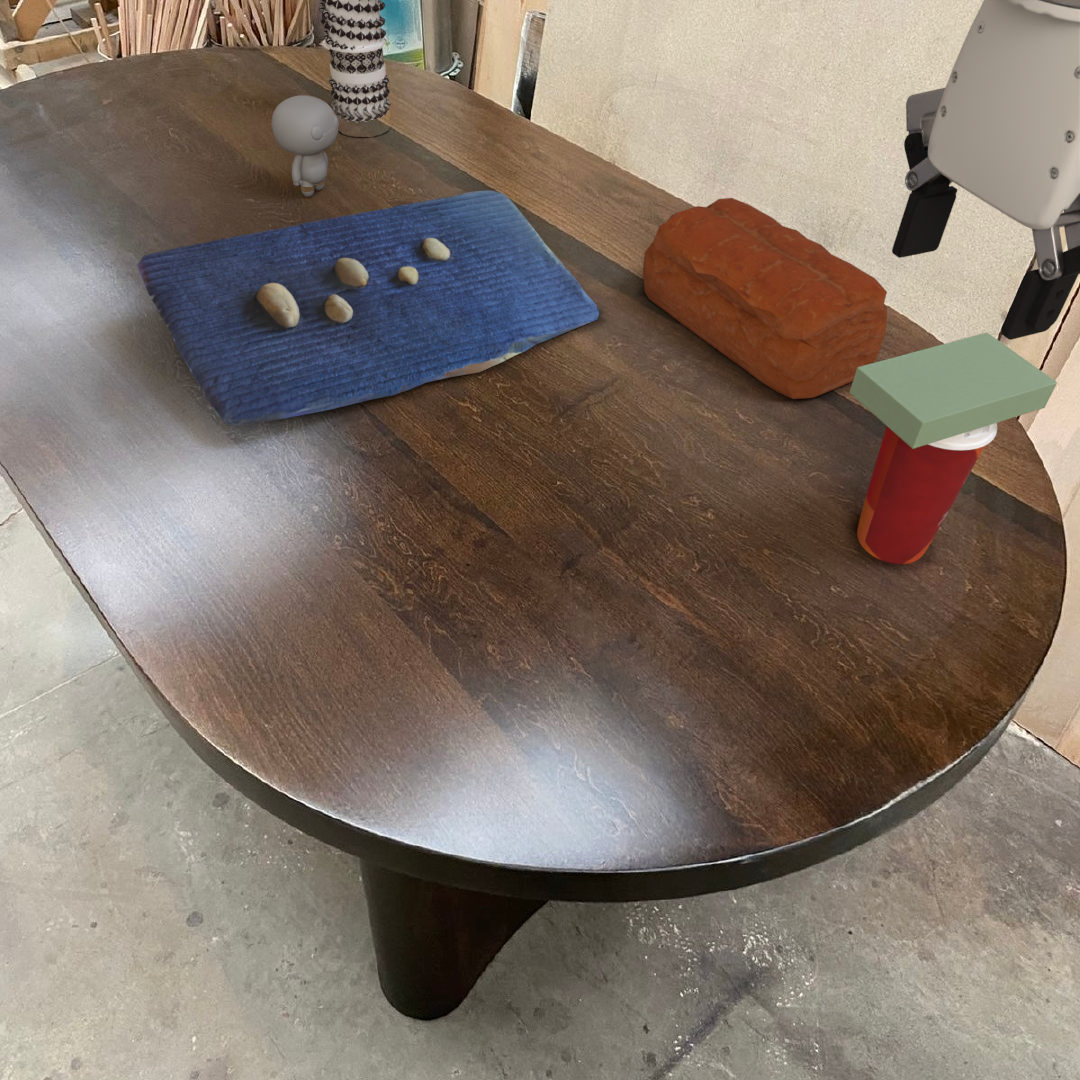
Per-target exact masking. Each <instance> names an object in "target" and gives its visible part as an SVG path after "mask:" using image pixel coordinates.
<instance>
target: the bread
mask: <svg viewBox="0 0 1080 1080" xmlns="http://www.w3.org/2000/svg"><path fill="white" fill-rule="evenodd" d="M643 255H644V256H643V264H642V265H643V266H642V275H643V276H642V277H643V287H644V293H645V294H646V297H647V298H648V300H649V301H651V302H652V303H653V304H655V305H657V306H658V307H659V308H660V309H662V310H663V311H664V312H665V313H668V314H669V315H670V316H671V317H672V318H673V319H675V320H676V321H678V322H679V323H680V324H682V325H683V326H684V327H686V328H687V329H688V330H689V331H691V332H692V333H693V334H695V335H697V336H698V337H699V338H701V339H702V340H703V341H705V342H706V343H707V344H708V345H710V346H712V347H713V348H715V349H716V350H717V351H719V352H720V353H721V354H723V355H724V356H725V357H727V358H728V359H729V360H731V362H734V363H735V364H737V365H738V366H739V367H740V368H742V369H743V370H745V371H746V372H747V373H748V374H750V375H751V376H753V377H754V378H755V379H757V380H758V381H759V382H760V383H762V384H764V385H765V386H767V387H769V388H770V389H771V390H773V391H775V392H776V393H779V394H781V395H782V396H783V395H784V396H785V397H787V398H789V399H792V400H799V399H811V398H813V399H814V398H816V397H818V396H821V395H823V394H826V393H828V392H831V391H833V390H836V389H837V388H840V387H843V386H845V385H848V384H851V383H853V380H854V376H855V373H856V370H857V368H858V367H860V366H864V365H868V364H872V363H875V362H876V359H877V357H878V355H879V353H880V351H881V350H882V349H881V348H882V347H883V343H884V339H885V335H886V332H887V331H886V330H887V324H888V307H887V306H886V304H885V302H886V298H887V294H888V292H887V290H886V289H885V288H884V287H883V286H882V284H881V283H880V282H879V281H878V280H877V279H876V277H873V276H872V275H871V274H868V273H867V272H865V271H863V270H862V269H860V268H859V267H857V266H855V265H854V264H852V263H851V262H849V261H847V260H844V259H842V258H841V257H838V256H836V255H834V254H832V253H831V252H829V250H828V249H827V248H825V247H824V246H823V245H822V244H821V243H818V242H816V241H814V240H812V239H809V238H807V237H806V236H805V235H804V234H802V233H801V232H800V231H799V230H797V229H795V228H791V227H788V226H784V225H783V224H781V223H780V222H779V221H778V220H777V219H775V218H774V217H772V216H770V215H768V214H766V213H765V212H763V211H761V210H760V209H757V208H756V207H755V206H752V205H751V204H749V203H746V202H744V201H741V200H739V199H735V198H733V197H725V198H718V199H717V200H715V201H713V202H712V203H710V204H709V205H707V206H699V205H697V206H694V207H691V208H688V209H684V210H681V211H677V212H676V213H673V214H671V215H670V216H669V218H668V219H667V220H666V221H665V222H663V223H662V224H659V226H658V228H657V231H656V233H655V235H654V238H653V240H652V242H651V243H650V245H649V246H648V247H647V248H646V250H645V251H644V254H643Z"/></svg>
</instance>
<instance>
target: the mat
mask: <svg viewBox="0 0 1080 1080" xmlns="http://www.w3.org/2000/svg"><path fill="white" fill-rule="evenodd" d="M137 269H138V271H139V275H140V276H141V280H142V282H143V284H144V288H145V290H146V292H147V294H148V296H149V298H150V299H151V301H152V302H153V304H154V306H155V308H156V309H157V311H158V313H159V315H160V316H161V318H162V320H163V322H164V323H165V325H166V328H167V329H168V331H169V333H170V335H171V338H172V339H173V341H174V344H175V345H176V348H177V349H178V352H179V354H180V355H181V357H182V359H183V361H184V363H185V364H186V366H187V367H188V369H189V371H190V372H191V374H192V376H193V378H194V379H195V381H196V382H197V384H198V386H199V388H200V389H201V391H202V393H203V394H204V396H205V397H206V398H205V399H207V401H208V403H209V404H210V406H211V409H213V411H214V413H215V415H216V416H217V417H218V418H219V419H220V420H221V421H222V422H223V423H224V424H225V425H232V426H245V425H250V424H251V425H252V424H258V423H263V422H270V421H276V420H283V419H287V418H288V419H289V418H293V417H299V416H303V415H304V416H305V415H309V414H314V413H315V414H316V413H319V412H324V411H330V410H335V409H339V408H343V407H347V406H350V405H355V404H359V403H363V402H367V401H371V400H377V399H382V398H385V397H391V396H396V395H398V394H401V393H404V392H407V391H410V390H412V389H414V388H417V387H420V386H421V385H424V384H427V383H431V382H435V381H439V380H444V379H448V378H452V377H453V378H454V377H460V376H466V375H467V376H468V375H473V374H478V373H481V372H484V371H486V370H487V369H490V368H493V367H494V366H496V365H499V364H501V363H503V362H506V361H507V360H509V359H511V358H514V357H515V356H517V355H519V354H522V353H525V352H526V351H528V350H529V349H532V348H533V347H534V346H537V345H538V344H541V343H543V342H546V341H549V340H551V339H553V338H556V337H558V336H560V335H563V334H565V333H568V332H571V331H572V330H575V329H577V328H580V327H582V326H585V325H586V324H590V323H592V322H595V321H597V320H598V318H599V315H600V310H599V308H598V305H597V304H596V302H595V301H593V299H592V298H591V297H590V296H589V295H588V294H587V293H586V292H585V290H584V289H583V287H582V285H581V284H580V283H579V280H577V279H576V277H575V276H574V275H573V274H572V273H571V272H570V270H569V269H568V268H567V267H565V265H564V264H563V263H562V261H561V260H560V259H559V258H558V257H557V255H556V254H555V253H554V252H553V251H552V250H551V248H549V246H548V245H547V244H546V243H545V241H544V240H543V239H542V237H541V236H540V235H539V233H538V232H537V231H536V230H535V228H534V227H533V226H532V224H531V223H530V222H529V221H528V219H527V218H526V217H525V216H524V214H523V213H522V212H521V211H520V209H519V208H518V207H517V205H515V203H514V202H513V201H512V200H511V199H510V198H509V197H508V196H506V194H504V193H502V192H499V191H495V190H476V191H468V192H464V193H461V194H455V195H452V196H447V197H439V198H434V199H430V200H424V201H418V202H411V203H406V204H400V205H395V206H393V207H387V208H382V209H376V210H370V211H365V212H358V213H355V214H349V215H348V214H347V215H341V216H338V217H337V216H335V217H330V218H324V219H321V220H316V221H315V220H314V221H310V222H309V221H308V222H302V223H300V224H296V225H290V226H285V227H281V228H276V229H267V230H265V231H260V232H259V231H258V232H253V233H247V234H242V235H236V236H231V237H222V238H220V239H215V240H209V241H205V242H203V241H202V242H199V243H198V242H196V243H193V244H188V245H182V246H178V247H174V248H170V249H165V250H161V251H156V252H151V253H147V254H144V255H143V256H142V257H141V258H140V260H139V262H138V263H137Z"/></svg>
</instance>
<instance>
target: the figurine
mask: <svg viewBox="0 0 1080 1080" xmlns="http://www.w3.org/2000/svg"><path fill="white" fill-rule="evenodd" d="M334 112H335V111H334V110H333V108H332V106H330V105H329V104H328V103H327V102H326V101H324V100H322V99H321V98H318V97H316V96H313V95H312V96H311V95H305V94H302V95H301V94H300V95H295V96H291V97H288V98H286V99H284V100H283V101H281V102H280V103H279V104H278V105H277V106H276V107H275V109H274V111H273V113H272V115H271V130H272V134H273V137H274V139H275V142H276V143H277V144H278V146H280V147H281V149H283V150H284V151H286V152H287V153H291V154H295V157H294V159H293V161H292V165H291V180H292V182H293V185H294V186H296V187H300V185H301V186H303V187H312V186H313V185H314V184H319V183H321V182H323V181H324V180H325V181H326V178H327V176H328V168H329V157H328V155H327V153H326V152H325V151H327V150H328V149H330V148H331V146H333V145H334V144H335V142H336V140H337V138H338V133H339V132H338V126H339V121H338V118H337V116H336V115H335V113H334ZM325 183H326V182H325ZM325 183H324V184H322V185H314V190H313V191H311V192H303V191H301V193H302V195H303V196H304V197H306V198H310V197H312V196H313V195H314V192H315V190H316V191H321V190H322V189H324V187H325Z"/></svg>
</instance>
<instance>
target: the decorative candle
mask: <svg viewBox="0 0 1080 1080" xmlns="http://www.w3.org/2000/svg"><path fill="white" fill-rule="evenodd" d="M385 8H386V4H385V2H384V1H382V0H320V2H319V7H318V10H319V12H320V13H321V18H320V23H321V24H322V27H323V28H324V32H323V39H324V43H325V46H326V47H327V48H328V49H329V57H330V63H329V70H330V78H329V80H328V83H329V85H330V87H331V90H330V91H329V92H330V95H331V97H332V99H333V100H332V101H331V108H332V110H333V111H334V112H336V113H337V114H336V116H340V119H347V122H349V121H355V122H356V123H358V122H361V121H364V122H368V121H370V120H375V119H377V118H381V117H382V116H383V115H386V113H387V111H388V110H390V107H391V105H392V103H391V101H390V98H389V97H388V96H389V94H390V93H391V92H390V91H391V90H390V89H389V87H388V84H389V82H390V79H389V77H388V75H387V70H386V63H385V62H384V50H383V48H384V46H385V45H386V42H387V41H386V39H385V37H386V35H387V31H386V30H384V29H383V28H382V27H383V26H384V25H385V23H386V19H385V18H384V17H383V16H382V15H380V12H381V11H382V10H384V9H385Z"/></svg>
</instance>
